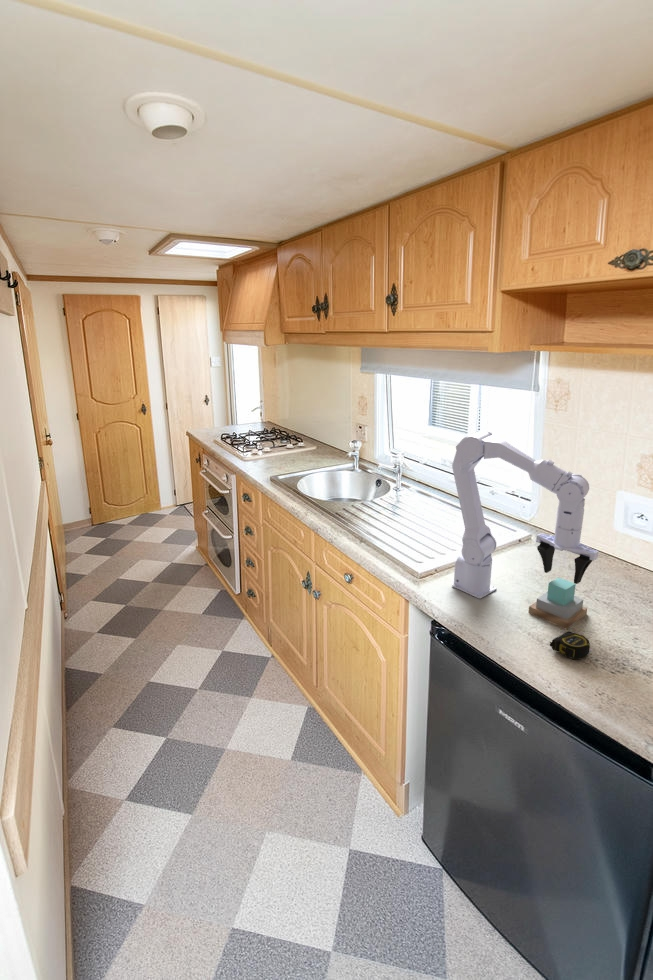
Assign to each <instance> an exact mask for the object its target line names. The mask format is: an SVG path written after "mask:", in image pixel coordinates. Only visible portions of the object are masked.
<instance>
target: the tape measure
mask: <svg viewBox="0 0 653 980" xmlns="http://www.w3.org/2000/svg"><path fill="white" fill-rule="evenodd" d="M549 646H550V647H551V649H552V650H553V651H555V652H557V653H558V652H559V653H560V654H561V655H562V656H564V657H565V658H570V659H571V660H573V659H574V660H581V659H585V658H586V657H587V656H589V655H590V650H591V643H590V640H589V639H588V638H587V637H586V636H585V635H582V634H579V633H576V632H573V631H570V630H569V631H565V632H564V633H563V634H561V635H559V636H557V637H555V638H553V639H551V641H549Z"/></svg>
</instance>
